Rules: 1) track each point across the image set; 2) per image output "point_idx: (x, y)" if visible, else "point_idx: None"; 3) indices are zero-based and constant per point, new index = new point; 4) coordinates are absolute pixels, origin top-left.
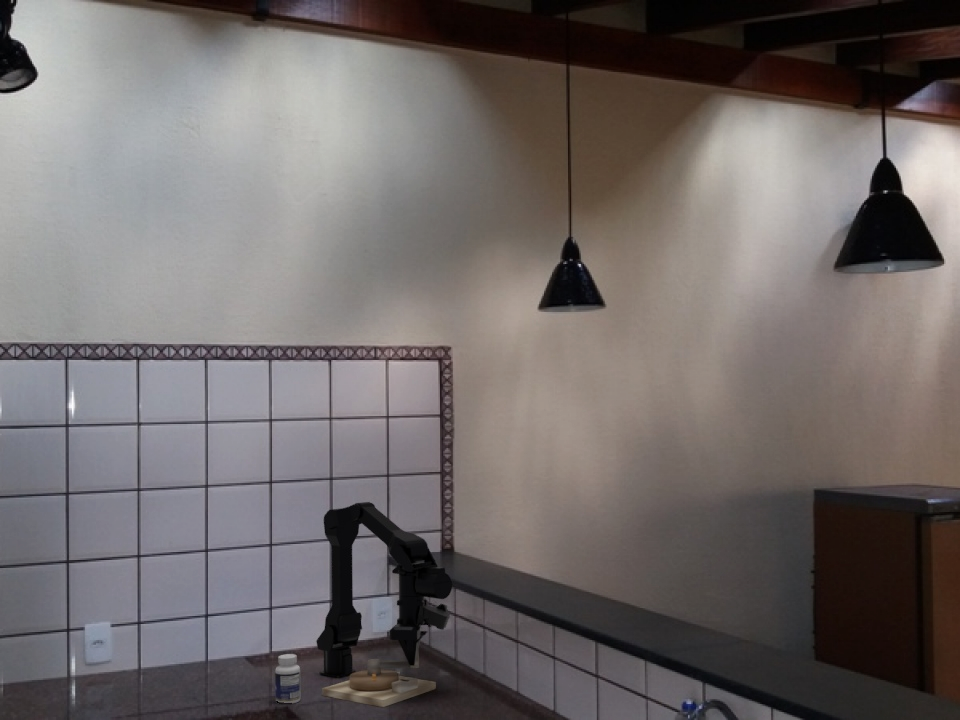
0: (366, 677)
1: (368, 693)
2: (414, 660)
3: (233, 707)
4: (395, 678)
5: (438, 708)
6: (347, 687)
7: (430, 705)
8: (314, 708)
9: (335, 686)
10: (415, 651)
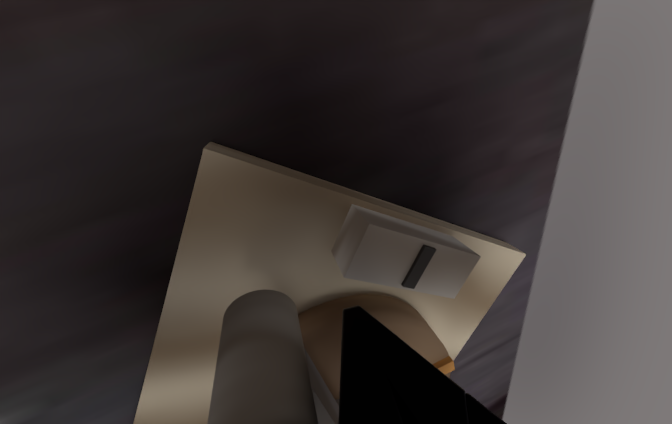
0: None
1: (446, 330)
2: (386, 327)
3: None
4: (381, 320)
5: (552, 20)
6: None
7: (504, 75)
8: (492, 375)
9: None
10: (469, 396)
